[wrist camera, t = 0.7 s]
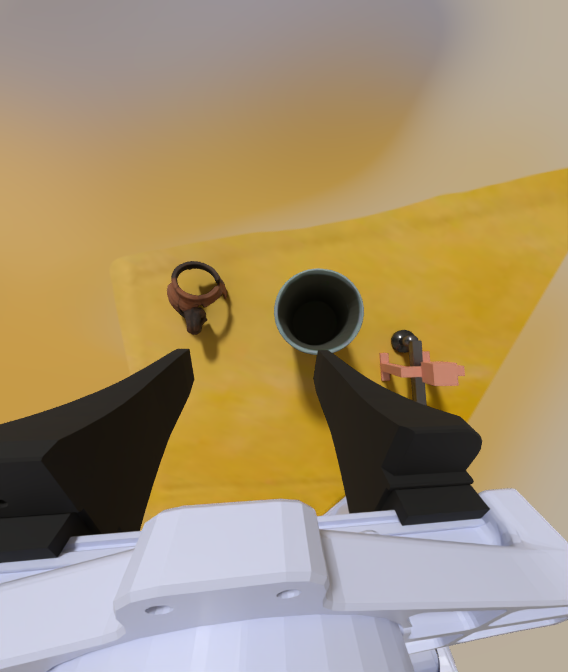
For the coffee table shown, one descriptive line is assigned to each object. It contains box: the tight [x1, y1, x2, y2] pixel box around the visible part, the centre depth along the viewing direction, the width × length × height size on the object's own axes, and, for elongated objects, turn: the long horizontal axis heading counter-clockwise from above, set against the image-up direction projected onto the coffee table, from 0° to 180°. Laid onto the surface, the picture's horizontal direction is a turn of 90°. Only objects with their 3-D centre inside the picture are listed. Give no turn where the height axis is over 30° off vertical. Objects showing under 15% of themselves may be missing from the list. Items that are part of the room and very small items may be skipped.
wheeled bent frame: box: [391, 330, 426, 405], centre depth 31 cm, size 12×22×4 cm, turn 133°
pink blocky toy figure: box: [380, 351, 465, 386], centre depth 28 cm, size 4×7×10 cm, turn 93°
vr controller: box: [167, 261, 227, 335], centre depth 35 cm, size 12×10×8 cm
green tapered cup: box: [274, 269, 364, 355], centre depth 29 cm, size 10×10×12 cm
